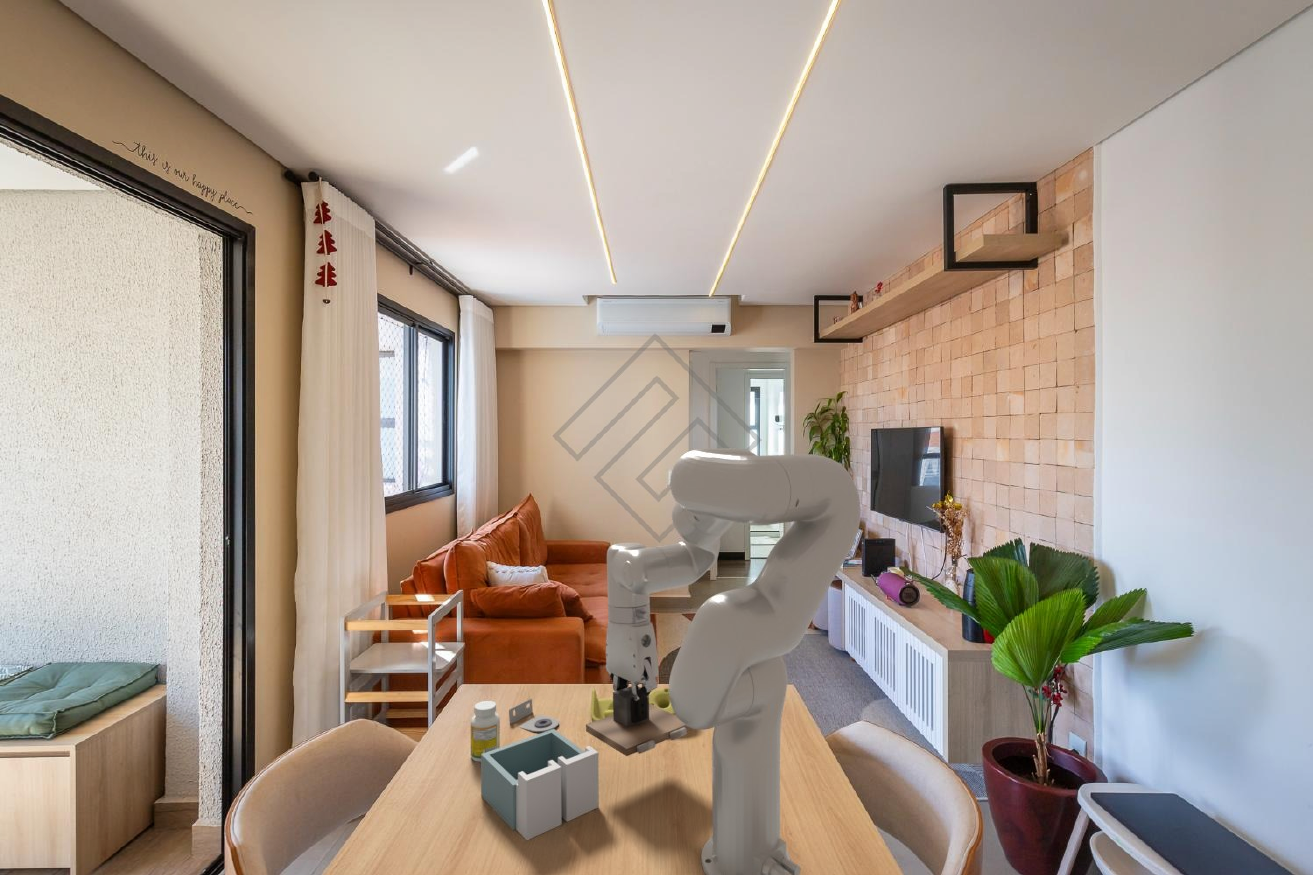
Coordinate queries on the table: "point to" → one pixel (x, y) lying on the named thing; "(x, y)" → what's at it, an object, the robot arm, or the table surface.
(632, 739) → the door
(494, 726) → the supplement bottle
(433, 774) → the table surface
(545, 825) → the cabinet
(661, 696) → the plastic component
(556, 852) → the table surface
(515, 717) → the bracket
